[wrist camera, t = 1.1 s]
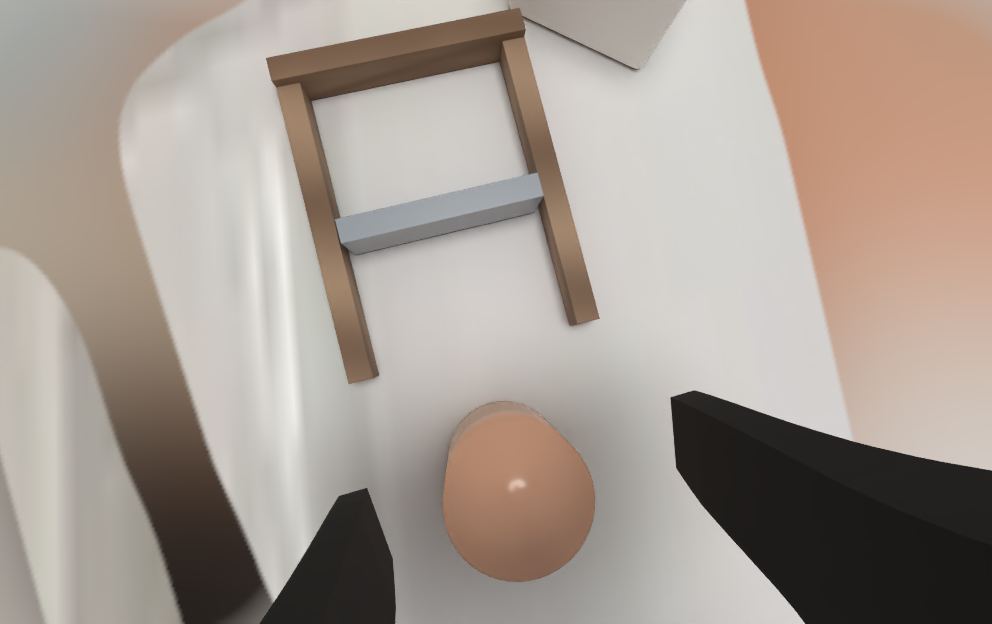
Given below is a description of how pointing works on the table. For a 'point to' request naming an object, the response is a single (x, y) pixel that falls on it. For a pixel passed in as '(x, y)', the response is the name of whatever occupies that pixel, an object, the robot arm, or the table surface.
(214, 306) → the table surface
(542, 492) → the terracotta jar
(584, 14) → the medicine bottle
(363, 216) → the plate
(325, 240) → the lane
